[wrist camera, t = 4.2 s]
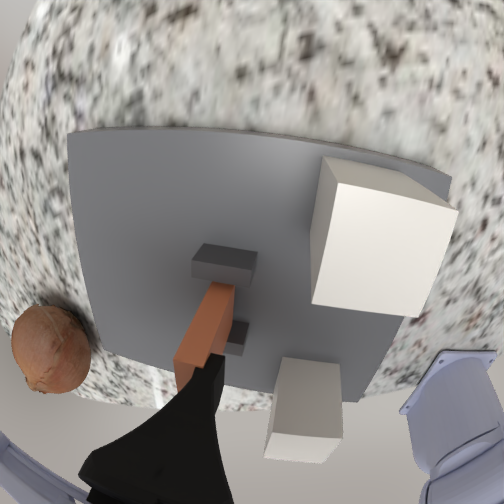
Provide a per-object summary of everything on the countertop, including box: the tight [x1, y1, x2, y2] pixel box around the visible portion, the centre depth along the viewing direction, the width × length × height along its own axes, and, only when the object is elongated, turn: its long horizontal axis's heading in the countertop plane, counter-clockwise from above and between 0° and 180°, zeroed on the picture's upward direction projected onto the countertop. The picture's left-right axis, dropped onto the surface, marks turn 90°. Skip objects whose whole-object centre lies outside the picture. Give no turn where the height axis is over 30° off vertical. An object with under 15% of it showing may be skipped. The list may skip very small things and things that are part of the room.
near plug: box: [310, 155, 459, 317], centre depth 11 cm, size 4×4×6 cm
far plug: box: [263, 357, 343, 463], centre depth 17 cm, size 4×4×6 cm
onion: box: [11, 304, 91, 394], centre depth 23 cm, size 10×9×10 cm
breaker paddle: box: [173, 281, 235, 392], centre depth 14 cm, size 3×1×6 cm, turn 175°
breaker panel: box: [67, 126, 452, 402], centre depth 17 cm, size 18×22×5 cm
